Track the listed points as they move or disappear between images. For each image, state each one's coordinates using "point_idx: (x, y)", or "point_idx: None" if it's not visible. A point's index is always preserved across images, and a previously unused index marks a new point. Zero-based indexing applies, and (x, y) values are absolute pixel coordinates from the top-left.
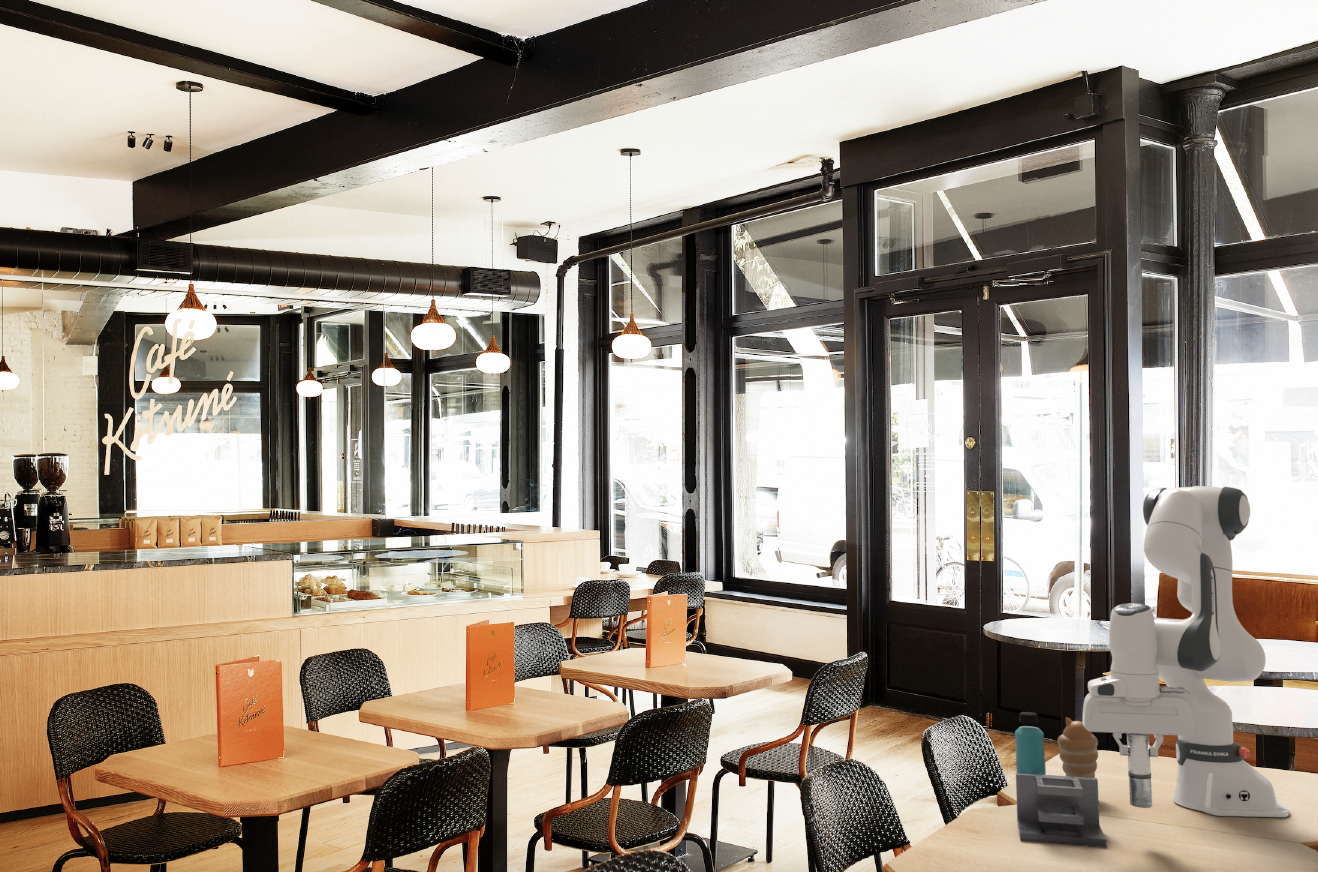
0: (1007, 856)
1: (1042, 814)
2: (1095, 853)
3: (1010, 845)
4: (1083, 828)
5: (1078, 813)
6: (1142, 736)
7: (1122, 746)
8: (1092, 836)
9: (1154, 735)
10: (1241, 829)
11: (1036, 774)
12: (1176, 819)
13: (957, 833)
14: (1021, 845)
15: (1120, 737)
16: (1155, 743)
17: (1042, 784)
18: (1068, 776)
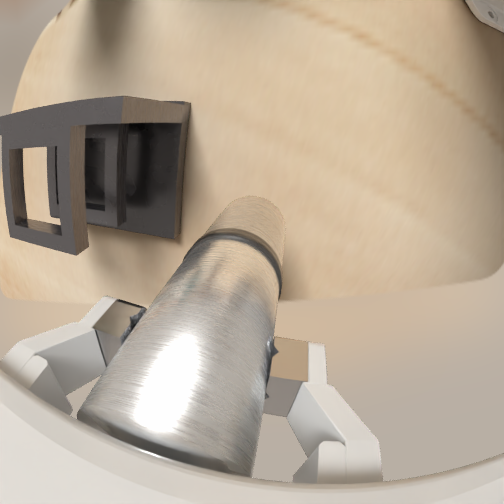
0: (57, 285)
1: (55, 215)
2: (157, 267)
3: None
4: (141, 164)
5: (109, 197)
6: None
7: (99, 370)
8: (151, 220)
9: (309, 471)
10: (497, 100)
11: (4, 117)
12: (402, 17)
13: None
14: None
15: (66, 408)
16: (308, 425)
17: (13, 220)
18: (53, 107)
